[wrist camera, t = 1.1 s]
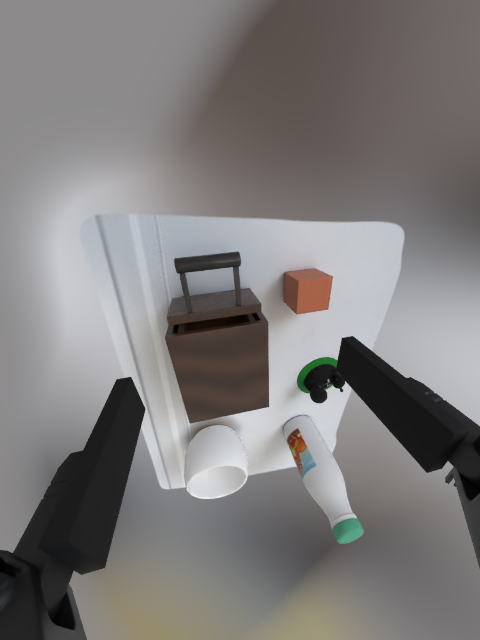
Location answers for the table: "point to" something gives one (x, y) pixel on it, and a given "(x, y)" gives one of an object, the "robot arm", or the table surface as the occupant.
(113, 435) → the robot arm
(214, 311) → the drawer
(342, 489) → the milk bottle
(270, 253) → the table surface
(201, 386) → the cabinet
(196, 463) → the cup
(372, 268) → the table surface
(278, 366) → the table surface
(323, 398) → the toy figurine
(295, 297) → the block
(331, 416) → the table surface
